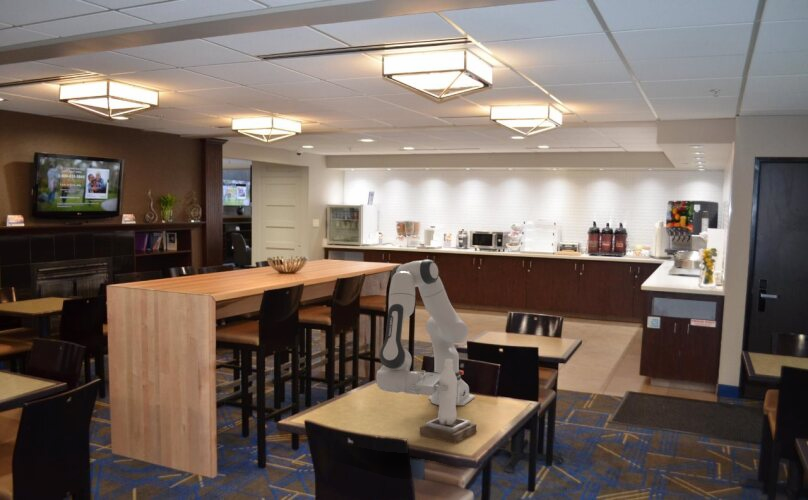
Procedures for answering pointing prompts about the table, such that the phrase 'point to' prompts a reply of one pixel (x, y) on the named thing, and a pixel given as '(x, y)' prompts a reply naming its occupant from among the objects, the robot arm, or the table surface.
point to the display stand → (448, 430)
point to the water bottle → (448, 394)
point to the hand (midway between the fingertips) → (450, 385)
